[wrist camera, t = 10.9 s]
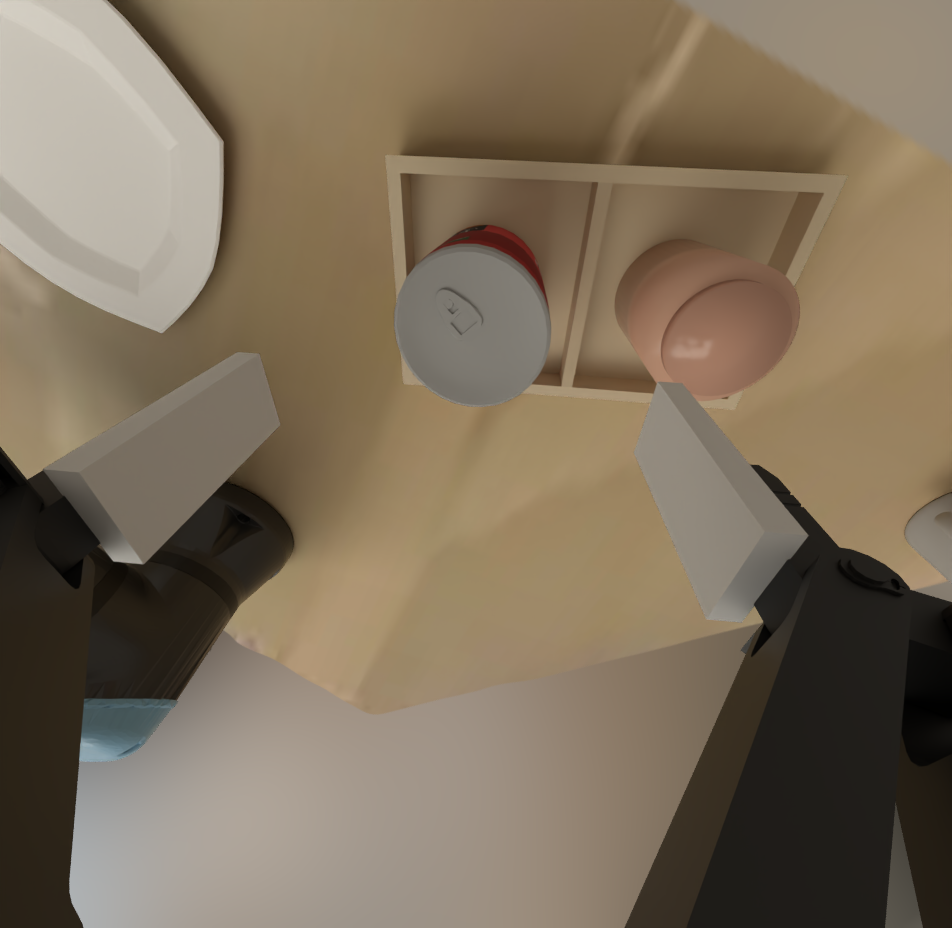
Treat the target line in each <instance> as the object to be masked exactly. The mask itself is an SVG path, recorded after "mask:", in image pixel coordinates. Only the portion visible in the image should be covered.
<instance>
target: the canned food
mask: <svg viewBox="0 0 952 928" xmlns="http://www.w3.org/2000/svg"><path fill="white" fill-rule="evenodd" d="M394 328H395V334H396V340H397V344H398V346H399V349H400V352H401V355H402V357H403V359H404V361H405V362H406V364H407V366H408V368H409V369H410V371H411V372H412V373H413V374H414V375H415V377H416V378H417V379H418V380H419V381H420V382H421V383H422V384H423V385H424V386H425V387H426V388H428V389H429V390H430V391H432V392H433V393H435V394H436V395H438V396H440V397H441V398H443V399H446V400H448V401H450V402H453V403H456V404H460V405H464V406H471V407H486V406H493V405H498V404H501V403H504V402H507V401H509V400H511V399H513V398H514V397H516V396H518V395H520V394H521V393H522V392H523V391H525V390H526V389H527V388H528V387H529V386H530V385H531V384H532V383H533V382H534V380H535V379H536V378H537V376H538V375H539V374H540V372H541V370H542V368H543V366H544V364H545V362H546V358H547V355H548V351H549V347H550V341H551V320H550V312H549V305H548V300H547V296H546V292H545V287H544V283H543V279H542V274H541V271H540V268H539V265H538V262H537V260H536V258H535V256H534V254H533V253H532V251H531V250H530V248H529V247H528V246H527V245H526V244H525V242H524V241H523V240H521V239H520V238H519V237H518V236H516V235H515V234H514V233H512V232H510V231H508V230H506V229H504V228H501V227H497V226H493V225H476V226H472V227H468V228H465V229H463V230H461V231H459V232H457V233H456V234H455V235H453V236H452V237H451V238H449V239H448V240H446V241H445V242H444V243H442V244H441V245H440V246H438V247H437V248H436V249H434V250H433V251H432V252H430V253H429V254H428V255H427V256H426V257H424V258H423V259H422V260H421V261H420V262H419V263H418V264H416V266H415V267H414V268H413V269H412V271H411V272H410V273H409V275H408V276H407V277H406V279H405V281H404V283H403V286H402V288H401V290H400V292H399V294H398V298H397V302H396V306H395V314H394Z"/></svg>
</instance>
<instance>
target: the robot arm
mask: <svg viewBox="0 0 952 928" xmlns="http://www.w3.org/2000/svg"><path fill="white" fill-rule="evenodd" d="M279 426H280V422H279V418H278V415H277V411H276V408H275V405H274V401H273V398H272V395H271V391H270V388H269V384H268V381H267V378H266V374H265V371H264V368H263V364H262V361H261V357H260V354H258V353H244V352H237V353H235V354H233V355H232V356H230V357H228V358H227V359H225V360H223V361H222V362H220V363H218V364H217V365H215V366H213V367H212V368H210V369H208V370H207V371H205V372H203V373H202V374H200V375H198V376H197V377H195V378H193V379H192V380H190V381H188V382H187V383H185V384H183V385H182V386H180V387H178V388H177V389H175V390H173V391H172V392H170V393H168V394H167V395H165V396H163V397H162V398H160V399H158V400H157V401H155V402H153V403H152V404H150V405H148V406H147V407H145V408H143V409H142V410H140V411H138V412H137V413H135V414H133V415H132V416H130V417H128V418H127V419H125V420H123V421H122V422H120V423H118V424H117V425H115V426H113V427H112V428H110V429H108V430H107V431H105V432H103V433H102V434H100V435H98V436H97V437H95V438H93V439H92V440H90V441H88V442H87V443H85V444H84V445H82V446H80V447H79V448H77V449H75V450H74V451H72V452H70V453H69V454H67V455H65V456H64V457H62V458H60V459H59V460H57V461H55V462H54V463H52V464H50V465H49V466H47V467H45V468H44V469H43V471H41V472H40V473H38V474H36V475H35V476H33V477H31V478H30V479H28V480H27V479H26V478H25V477H24V475H23V474H22V473H21V472H20V470H19V469H18V468H17V467H16V465H15V464H14V463H13V462H12V461H11V459H10V458H9V457H8V456H7V454H6V453H5V452H4V451H3V450H2V448H1V447H0V928H83V924H82V922H81V920H80V918H79V916H78V914H77V913H76V911H75V909H74V907H73V905H72V903H71V898H70V893H69V877H70V866H71V853H72V841H73V829H74V817H75V804H76V793H77V781H78V769H79V768H78V767H79V761H87V762H104V761H114V760H118V759H121V758H124V757H127V756H129V755H131V754H132V753H134V752H136V751H137V750H138V749H139V748H141V747H142V746H143V745H144V744H145V742H146V741H147V740H148V739H149V738H150V736H151V735H152V734H153V732H154V731H155V730H156V728H157V727H158V726H159V724H160V723H161V722H162V721H163V719H164V718H165V717H166V715H167V714H168V713H169V711H170V710H171V709H172V708H173V707H175V705H176V704H177V702H178V701H177V699H178V698H179V696H180V695H181V693H182V692H183V690H184V689H185V687H186V686H187V684H188V682H189V681H190V679H191V678H192V676H193V675H194V673H195V672H196V670H197V669H198V667H199V666H200V664H201V663H202V661H203V660H204V658H205V657H206V655H207V654H208V652H209V651H210V649H211V648H212V646H213V645H214V643H215V641H216V640H217V639H218V637H219V635H220V634H221V632H222V631H223V629H224V628H225V626H226V625H227V623H228V622H229V620H230V619H231V617H232V616H233V614H234V613H235V611H236V610H237V608H238V607H239V606H240V604H241V603H243V602H244V601H245V600H246V599H247V598H248V597H250V596H251V595H252V594H253V593H254V592H255V591H257V590H258V589H259V588H260V587H261V586H262V585H263V584H264V583H266V582H267V581H268V580H270V579H271V578H272V577H274V576H275V575H277V574H278V573H279V572H280V570H281V569H282V568H283V566H284V565H285V563H286V562H287V560H288V558H289V557H290V555H291V553H292V550H293V539H292V535H291V532H290V530H289V528H288V526H287V525H286V523H285V522H284V520H283V519H282V518H281V516H280V515H279V514H278V513H277V512H276V511H275V510H274V509H273V508H272V507H270V506H269V505H268V504H267V503H265V502H264V501H263V500H261V499H260V498H258V497H257V496H255V495H253V494H252V493H250V492H248V491H246V490H244V489H241V488H239V487H237V486H234V485H231V484H228V483H225V481H226V480H227V479H228V478H229V477H230V476H231V475H232V474H233V473H234V472H235V471H236V470H237V469H238V468H239V467H240V466H241V465H242V464H243V463H244V462H245V461H246V460H247V459H248V458H249V457H250V456H251V455H252V454H253V452H254V451H255V450H256V449H257V448H258V447H259V446H260V445H261V444H262V443H263V442H264V441H265V440H266V439H267V438H268V437H269V436H270V435H271V434H272V433H273V432H274V431H275V430H276V429H277V428H278V427H279ZM634 454H635V456H636V459H637V461H638V463H639V466H640V468H641V470H642V473H643V475H644V477H645V479H646V482H647V484H648V486H649V489H650V491H651V493H652V496H653V498H654V500H655V502H656V505H657V507H658V509H659V512H660V514H661V516H662V519H663V521H664V523H665V525H666V528H667V530H668V532H669V535H670V537H671V539H672V542H673V544H674V546H675V548H676V551H677V553H678V555H679V558H680V560H681V562H682V565H683V567H684V569H685V571H686V574H687V576H688V578H689V581H690V583H691V585H692V588H693V590H694V592H695V594H696V597H697V599H698V601H699V604H700V606H701V608H702V611H703V613H704V615H705V617H706V619H710V620H720V621H731V622H741V623H742V621H743V620H744V619H745V617H746V616H747V615H748V613H749V612H750V611H751V610H752V608H753V607H754V606H755V607H756V609H757V611H758V613H759V615H760V616H761V618H762V620H763V623H762V625H761V626H760V627H759V628H758V630H757V631H756V632H755V633H754V634H753V636H752V637H751V638H750V639H749V640H748V642H747V643H746V644H745V645H744V647H743V648H742V649H741V651H743V652H744V653H745V654H746V655H745V657H744V660H743V662H742V664H741V666H740V669H739V671H738V673H737V676H736V678H735V680H734V682H733V684H732V687H731V689H730V691H729V693H728V696H727V698H726V700H725V702H724V705H723V707H722V709H721V711H720V714H719V716H718V718H717V720H716V723H715V725H714V727H713V729H712V732H711V734H710V736H709V738H708V741H707V743H706V745H705V748H704V750H703V752H702V754H701V757H700V759H699V761H698V763H697V766H696V768H695V770H694V772H693V775H692V777H691V779H690V781H689V784H688V786H687V788H686V790H685V793H684V795H683V797H682V799H681V802H680V804H679V806H678V808H677V811H676V813H675V815H674V817H673V820H672V822H671V824H670V826H669V829H668V831H667V833H666V836H665V838H664V840H663V842H662V844H661V847H660V849H659V852H658V854H657V856H656V858H655V860H654V863H653V865H652V867H651V870H650V872H649V874H648V876H647V878H646V881H645V883H644V885H643V887H642V890H641V892H640V894H639V896H638V899H637V901H636V903H635V905H634V908H633V910H632V912H631V914H630V917H629V919H628V921H627V923H626V926H625V928H885V920H886V907H887V896H888V884H889V872H890V860H891V849H892V837H893V825H894V813H895V812H894V811H895V801H896V805H897V810H898V814H899V819H900V823H901V828H902V833H903V837H904V842H905V846H906V851H907V856H908V860H909V865H910V869H911V874H912V879H913V884H914V888H915V893H916V897H917V902H918V906H919V911H920V916H921V920H922V925H923V928H952V602H949V601H946V600H942V599H939V598H935V597H932V596H929V595H926V594H922V593H919V592H916V591H912V590H910V588H909V586H908V585H907V584H906V583H905V582H904V581H903V579H902V578H901V577H900V576H899V575H898V574H897V573H895V572H894V571H893V570H891V569H890V568H889V567H887V566H886V565H885V564H883V563H881V562H879V561H877V560H876V559H874V558H872V557H870V556H868V555H865V554H863V553H860V552H857V551H854V550H851V549H845V548H839V546H838V545H837V544H836V543H835V542H834V541H833V540H832V539H831V537H830V536H829V535H828V534H827V533H826V532H825V531H824V530H823V528H822V527H821V526H820V525H819V524H818V523H817V522H816V521H815V519H814V518H813V517H812V516H811V515H810V514H809V513H808V512H807V510H806V509H805V508H804V507H801V504H800V503H799V501H798V500H797V499H796V498H795V497H794V496H793V495H790V493H791V492H790V491H789V490H788V489H787V488H786V487H785V486H784V484H783V483H782V482H781V481H780V480H779V479H778V478H777V477H775V476H774V475H772V474H771V473H770V472H768V471H767V470H765V469H764V468H762V467H761V466H759V465H750V464H749V463H748V462H747V461H746V459H745V458H744V457H743V456H742V455H741V453H740V452H739V451H738V450H737V449H736V447H735V446H734V445H733V444H732V443H731V441H730V440H729V439H728V438H727V437H726V435H725V434H724V433H723V432H722V431H721V429H720V428H719V427H718V426H717V425H716V423H715V422H714V421H713V420H712V418H711V417H710V416H709V415H708V414H707V412H706V411H705V410H704V409H703V408H702V406H701V405H700V404H699V403H698V402H697V400H696V399H695V398H694V397H693V396H692V394H691V393H690V392H689V391H688V390H687V388H686V387H685V386H684V385H683V383H673V382H657V385H656V388H655V391H654V394H653V397H652V400H651V403H650V406H649V409H648V412H647V415H646V418H645V421H644V424H643V427H642V430H641V433H640V436H639V439H638V442H637V445H636V448H635V451H634ZM99 544H100V545H101V546H100V545H99Z"/></svg>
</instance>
